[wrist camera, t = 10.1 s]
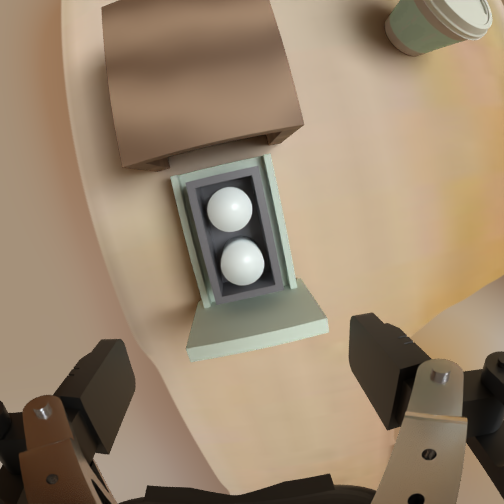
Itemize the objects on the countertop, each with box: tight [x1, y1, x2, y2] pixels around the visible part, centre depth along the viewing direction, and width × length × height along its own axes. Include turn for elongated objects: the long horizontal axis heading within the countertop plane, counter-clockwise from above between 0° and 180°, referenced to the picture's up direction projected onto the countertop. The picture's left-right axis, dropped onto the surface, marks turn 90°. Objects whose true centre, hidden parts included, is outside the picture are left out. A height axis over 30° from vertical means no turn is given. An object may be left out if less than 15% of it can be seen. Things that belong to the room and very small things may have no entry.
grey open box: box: [185, 166, 284, 305], centre depth 26 cm, size 10×6×4 cm, turn 12°
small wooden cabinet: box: [102, 0, 304, 171], centre depth 22 cm, size 14×12×10 cm
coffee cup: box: [385, 0, 492, 56], centre depth 20 cm, size 9×8×12 cm
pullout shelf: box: [170, 154, 329, 362], centre depth 25 cm, size 14×10×9 cm
